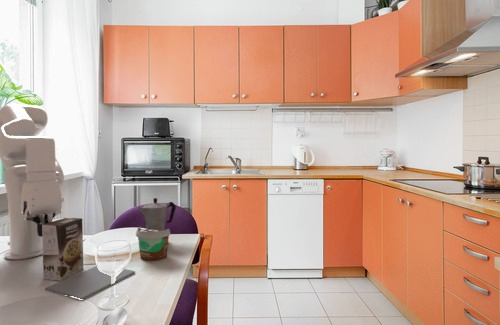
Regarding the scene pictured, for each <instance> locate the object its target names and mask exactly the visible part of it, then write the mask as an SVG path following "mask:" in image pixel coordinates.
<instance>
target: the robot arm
mask: <svg viewBox="0 0 500 325" xmlns="http://www.w3.org/2000/svg"><path fill="white" fill-rule="evenodd" d="M48 118H49V117H48V113H47V111H46V109H44V108H43V107H41V106H39V105H32V104H29V105H28V104H19V103H18V104H16V103H10V104H6V105H4V106H2V107H1V108H0V160H1V163H2V165H3V168H4V169H5V171H4V172H3V181H4V187H5V191H6V195H7V204H8V205H7V206H8V209H7V210H8V223H9V224H8V229H9V231H8V232H9V241H8V242H7V246H9V250H7V251H6V252H5V253H4V258H5V259H7V260H25V259H31V258H36V257H39V256H41V255H42V256H43V244H42V224H46V223H49V222H53V219H54V218H55V217H56V216H58V215H61V213H62V208H63V200H62V198H63V197H62V191H61V186H63V184H64V182H65V174H64V171H63V169H62V166H61V165H60V163H59V161H58V160H57V158H56V143H55V138H53V137H50V136H38V135H39V134H40V133H41V132H43V130H44V129H45V128H46V126H47V125H48V120H49V119H48Z"/></svg>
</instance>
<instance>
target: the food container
mask: <svg viewBox="0 0 500 325" xmlns="http://www.w3.org/2000/svg"><path fill="white" fill-rule="evenodd" d="M135 236H136V237H137V240H138V249H139V256H140V259H141V260H142V261H145V262H154V261H155V262H156V261H160V260H164V259H166V258H168V252H169V250H168V248H169V238H170V236H171V230H170V228H167V229H165V230H164V231H160V230H156V229H150V230H146V229H143V228H141V226H139V227H137V230H136V232H135Z"/></svg>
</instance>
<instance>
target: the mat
mask: <svg viewBox="0 0 500 325" xmlns="http://www.w3.org/2000/svg"><path fill="white" fill-rule="evenodd" d="M97 266H98V265H96V266H93V267H91V268H88V269H86V270H83V271H82V272H79V273H75V274H73V275H71V276H69V277H67V278H65V279H63V280H61V281H58V282H55V283H53V284H50V285H48V286H46V287H44V290H45V291H48V292H51V293H55V294H58V295H61V296H64V295H67V296H66V297H68V296H74V297H77V298H80V299H84V300H85V299H88V298H90V297H92V296H93V295H95V294H97V293H99V292H102V291H104V290H105V289H107V288H109V287H111V286H112V285H111V276H109V275H107V274H104V273H102V272H100V271H99V270H98V268H97ZM123 269H124V270H123V271H122V272H121V273H120V274H119V275H118V276H117V277H116V281H115V284H117V283H119V282H121V281H123V280H124V279H126V278H128V277H131V276H132V275H134V274H136V271H135V270H132V269H131V270H130V269H127V268H123Z"/></svg>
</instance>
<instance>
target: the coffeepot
mask: <svg viewBox="0 0 500 325" xmlns="http://www.w3.org/2000/svg"><path fill="white" fill-rule="evenodd" d="M168 208H171V210H170V214H169V219H168V220H166V219H167V211H168V210H167V209H168ZM176 209H177V206H176V204H175V203H174V202H172V201H170V202H163V203H162V202H158V198H156V197H154V198H153V202H151V203H148V204H145V205H143V206H140V207H139V208H138V211H139V212H141V213H142V215H143V216H144V219H145V224H146V229H145V230H150V229H156V230H160V231H164V230H166V227H165V226H166V225H165V223H168V224H169V223H172V222H173V220H174V219H173V218H174V215H175V212H176Z"/></svg>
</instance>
